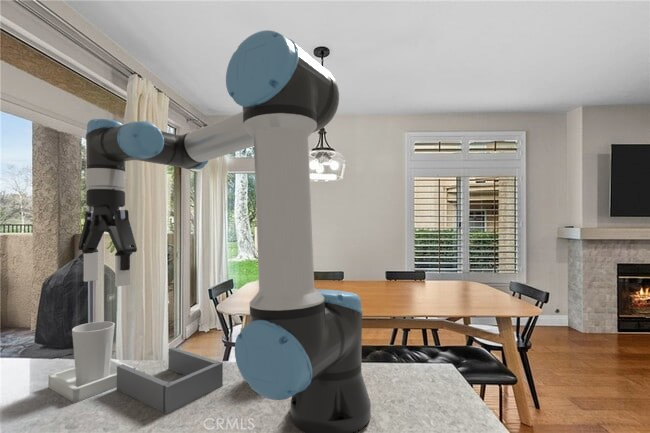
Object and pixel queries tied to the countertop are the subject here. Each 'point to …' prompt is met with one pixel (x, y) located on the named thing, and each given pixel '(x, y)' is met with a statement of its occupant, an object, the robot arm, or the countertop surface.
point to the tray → (67, 385)
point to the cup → (92, 351)
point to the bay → (171, 396)
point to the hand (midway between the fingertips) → (105, 283)
